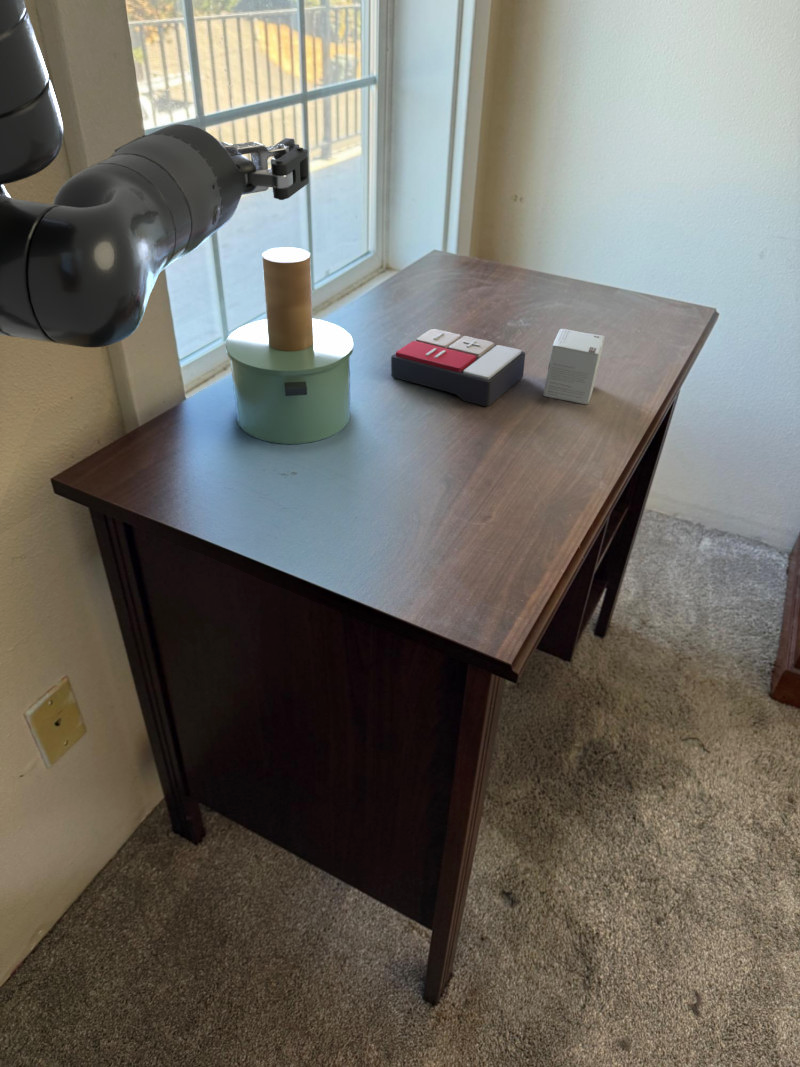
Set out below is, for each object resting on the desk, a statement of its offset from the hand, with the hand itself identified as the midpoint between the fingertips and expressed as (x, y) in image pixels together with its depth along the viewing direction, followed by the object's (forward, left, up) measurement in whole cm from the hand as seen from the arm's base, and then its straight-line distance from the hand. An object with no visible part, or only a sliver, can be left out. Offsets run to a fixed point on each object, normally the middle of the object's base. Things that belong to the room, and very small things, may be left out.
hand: (243, 147), depth 65 cm
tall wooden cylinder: (+4, +10, -22) cm, 25 cm away
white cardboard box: (+40, +12, -32) cm, 53 cm away
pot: (+3, +10, -32) cm, 34 cm away
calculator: (+26, +17, -32) cm, 45 cm away
